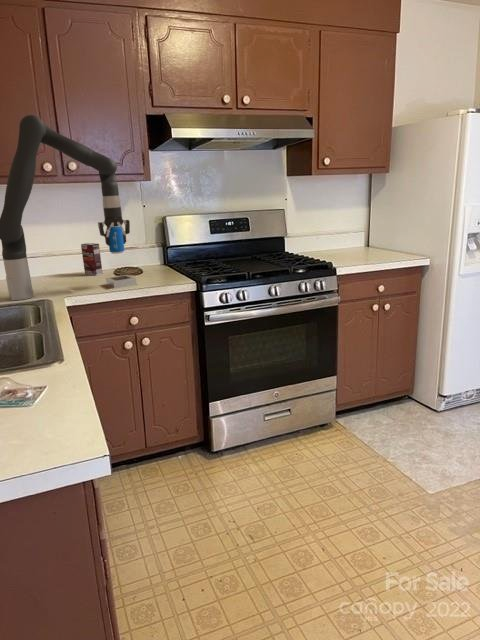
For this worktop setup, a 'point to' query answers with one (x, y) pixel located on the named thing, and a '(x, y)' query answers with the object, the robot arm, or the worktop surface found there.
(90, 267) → the supplement box
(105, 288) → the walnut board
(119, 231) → the beverage can
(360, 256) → the worktop surface
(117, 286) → the metal collar
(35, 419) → the worktop surface
